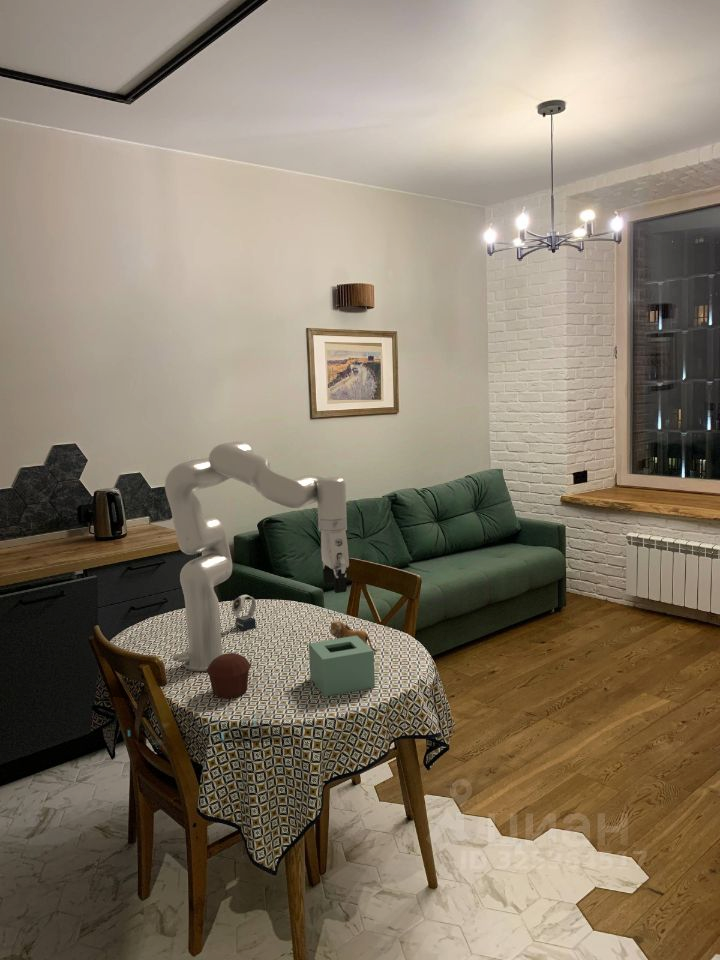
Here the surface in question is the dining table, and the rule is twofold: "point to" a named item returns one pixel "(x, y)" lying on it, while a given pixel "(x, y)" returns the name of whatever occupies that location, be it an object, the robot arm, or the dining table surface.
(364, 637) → the lion figurine
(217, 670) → the muffin
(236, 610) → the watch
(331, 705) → the dining table surface
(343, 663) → the money box
